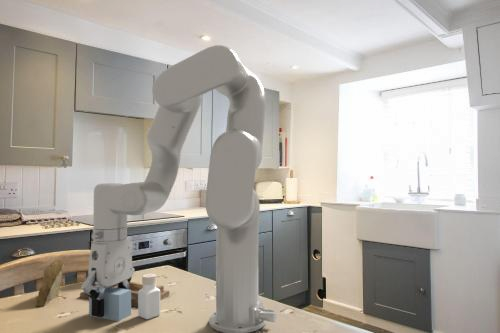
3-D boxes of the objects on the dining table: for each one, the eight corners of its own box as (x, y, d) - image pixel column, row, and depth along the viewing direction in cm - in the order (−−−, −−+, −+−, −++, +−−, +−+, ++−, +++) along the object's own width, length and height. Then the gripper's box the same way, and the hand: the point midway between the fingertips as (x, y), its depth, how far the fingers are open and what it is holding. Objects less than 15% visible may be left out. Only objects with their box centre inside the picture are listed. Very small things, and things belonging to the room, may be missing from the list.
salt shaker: (136, 316, 85) (137, 275, 85) (151, 311, 88) (151, 272, 88) (146, 320, 82) (147, 278, 83) (161, 315, 86) (161, 275, 86)
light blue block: (131, 315, 86) (131, 284, 86) (119, 321, 82) (119, 289, 82) (101, 310, 89) (101, 280, 90) (89, 316, 86) (89, 285, 86)
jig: (169, 295, 100) (169, 285, 100) (146, 307, 90) (146, 296, 91) (107, 286, 108) (107, 277, 108) (80, 297, 99) (80, 286, 99)
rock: (49, 300, 90) (78, 283, 99) (30, 272, 91) (61, 258, 100) (25, 321, 93) (56, 302, 103) (6, 293, 94) (39, 278, 103)
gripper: (94, 242, 77) (93, 327, 76) (146, 230, 93) (146, 300, 93) (68, 240, 80) (67, 321, 79) (123, 229, 96) (123, 297, 95)
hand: (110, 309), depth 86 cm, fingers open, 6 cm apart
